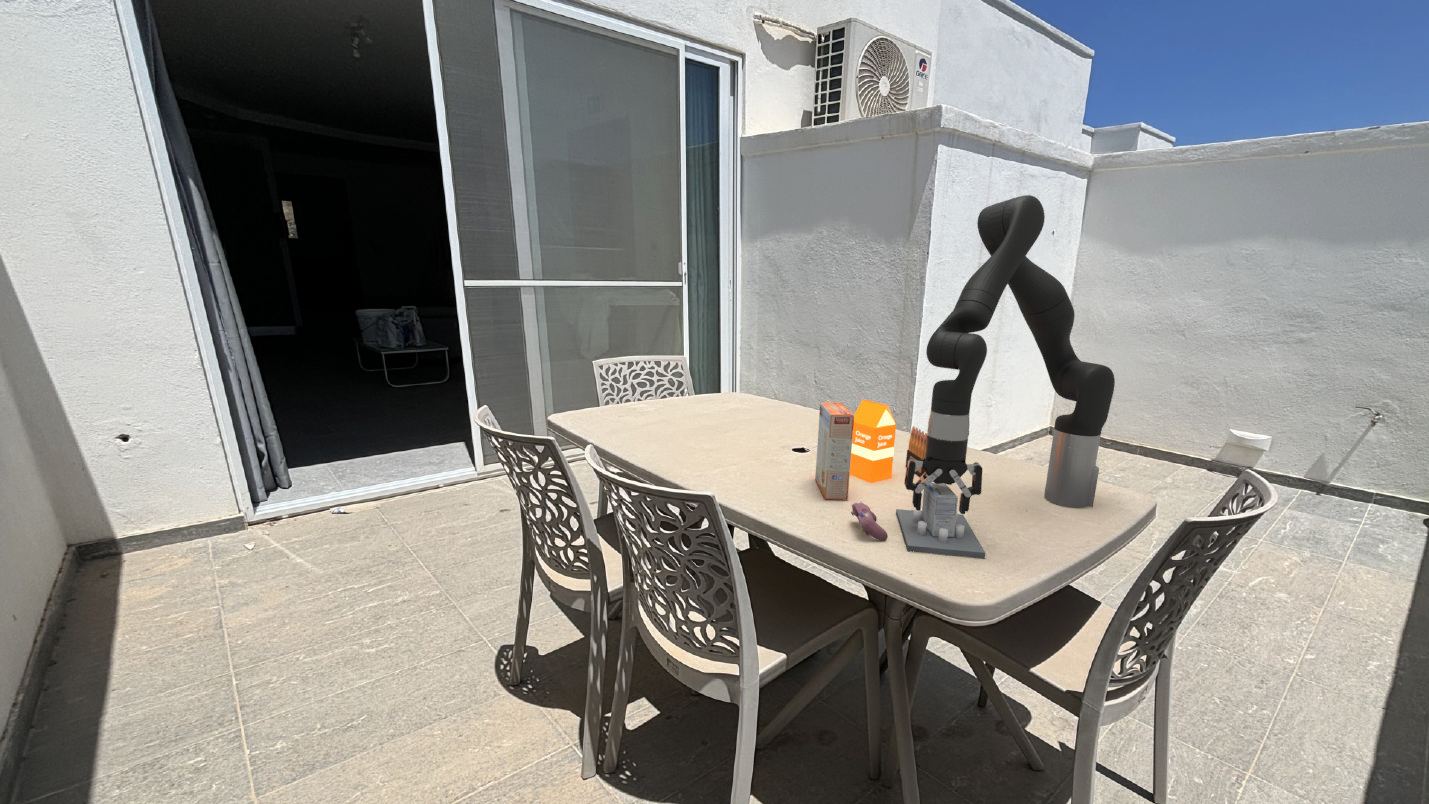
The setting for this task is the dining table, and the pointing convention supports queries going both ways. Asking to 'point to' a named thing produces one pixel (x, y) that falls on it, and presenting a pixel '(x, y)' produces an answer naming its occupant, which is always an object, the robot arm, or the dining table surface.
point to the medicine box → (939, 509)
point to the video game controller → (868, 521)
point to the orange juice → (872, 442)
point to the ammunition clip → (917, 448)
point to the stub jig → (924, 542)
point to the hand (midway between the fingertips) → (939, 510)
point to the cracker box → (834, 450)
